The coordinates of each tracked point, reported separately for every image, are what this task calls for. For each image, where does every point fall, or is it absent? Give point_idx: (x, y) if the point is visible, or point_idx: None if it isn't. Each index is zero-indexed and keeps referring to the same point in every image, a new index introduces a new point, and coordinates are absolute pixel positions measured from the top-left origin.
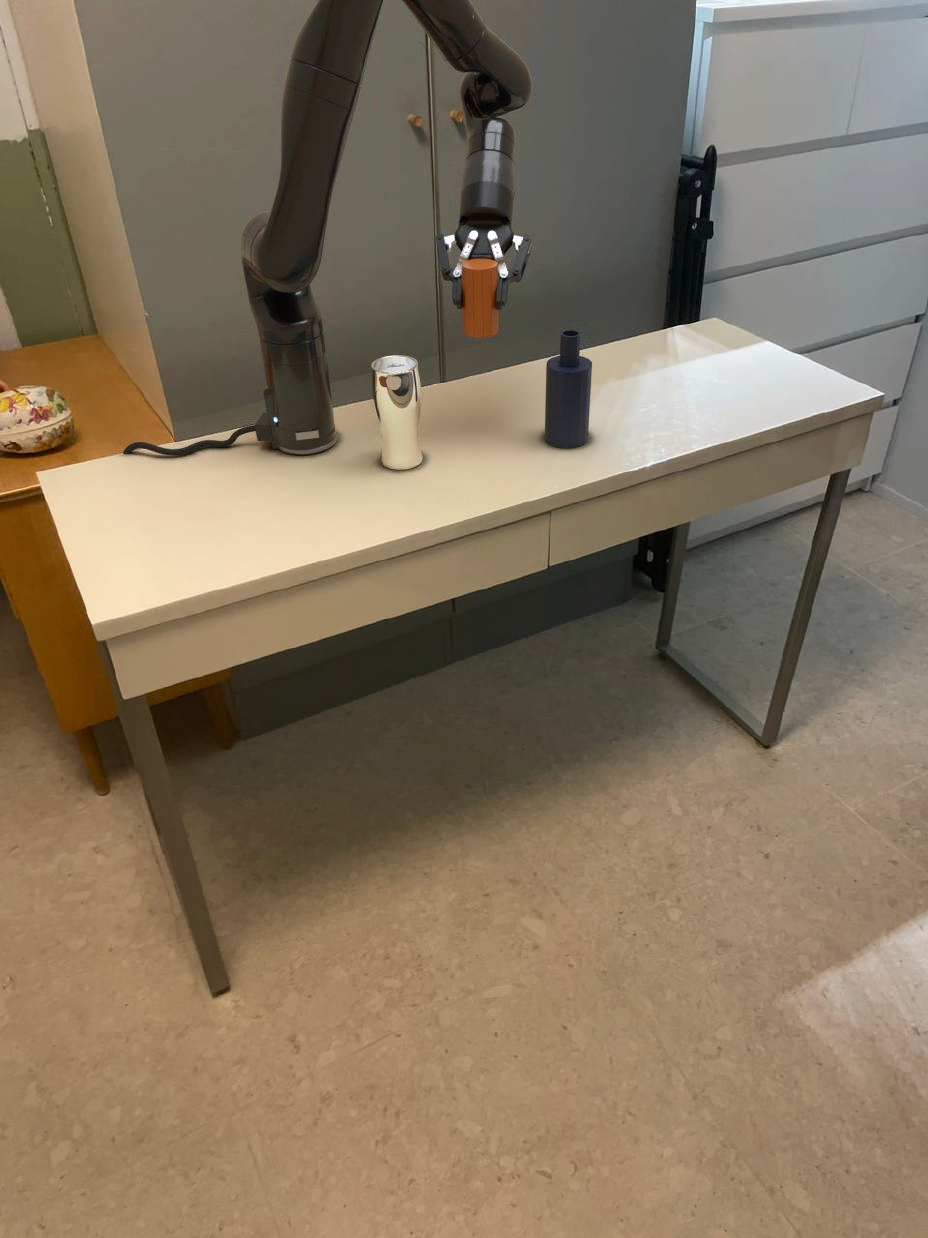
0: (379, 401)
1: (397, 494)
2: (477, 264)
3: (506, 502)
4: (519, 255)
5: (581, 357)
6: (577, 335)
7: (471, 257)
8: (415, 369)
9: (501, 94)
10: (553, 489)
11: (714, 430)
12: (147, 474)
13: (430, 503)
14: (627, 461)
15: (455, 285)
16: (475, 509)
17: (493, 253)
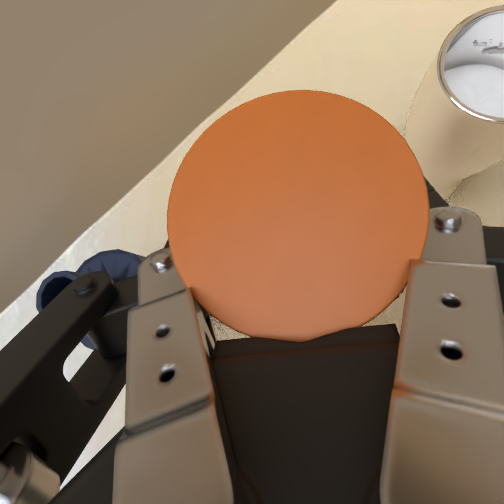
0: (494, 63)
1: (388, 82)
2: (300, 188)
3: (234, 105)
4: (24, 358)
5: (87, 339)
6: (42, 283)
7: (390, 328)
8: (435, 63)
9: None
10: (181, 152)
11: None
12: None
13: (333, 74)
14: (96, 248)
15: (429, 204)
16: (269, 78)
17: (195, 325)
